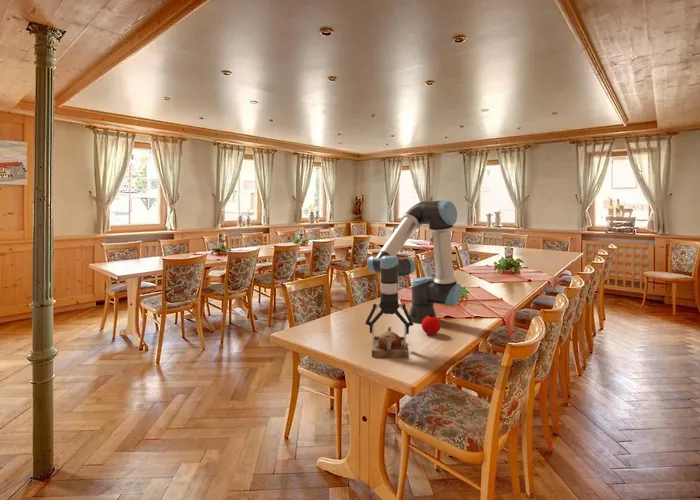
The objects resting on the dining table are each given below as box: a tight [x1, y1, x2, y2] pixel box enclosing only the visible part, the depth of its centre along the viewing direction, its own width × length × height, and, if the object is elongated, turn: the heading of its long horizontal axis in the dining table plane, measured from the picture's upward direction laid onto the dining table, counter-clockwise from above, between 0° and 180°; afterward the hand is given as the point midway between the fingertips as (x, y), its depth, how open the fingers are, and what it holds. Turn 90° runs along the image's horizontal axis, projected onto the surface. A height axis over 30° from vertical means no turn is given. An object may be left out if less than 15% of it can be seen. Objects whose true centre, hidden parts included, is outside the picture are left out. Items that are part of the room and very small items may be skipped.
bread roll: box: [378, 330, 402, 349], centre depth 165 cm, size 10×10×8 cm
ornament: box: [421, 314, 442, 336], centre depth 184 cm, size 9×9×10 cm
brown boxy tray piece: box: [371, 326, 407, 358], centre depth 165 cm, size 14×18×8 cm
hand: (389, 340), depth 165 cm, fingers open, 13 cm apart
